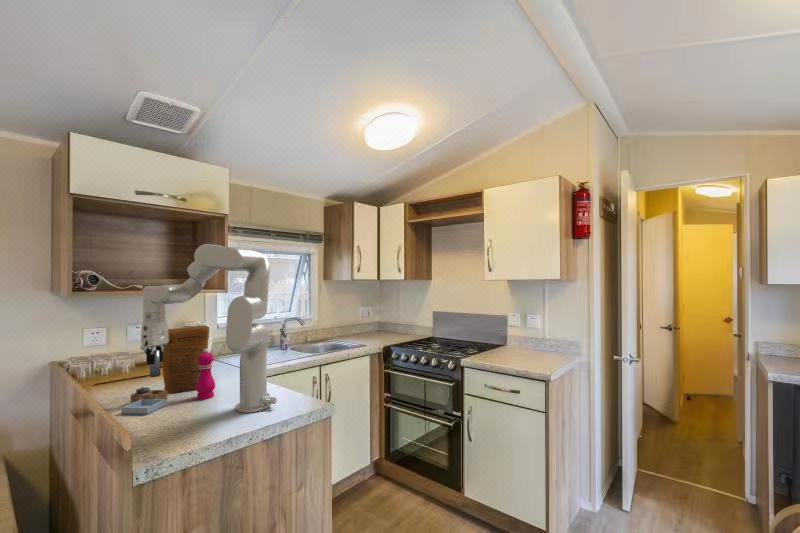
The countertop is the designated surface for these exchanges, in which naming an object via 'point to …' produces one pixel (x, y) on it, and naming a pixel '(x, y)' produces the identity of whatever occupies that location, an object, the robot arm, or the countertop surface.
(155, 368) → the lock pin
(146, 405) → the tray
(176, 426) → the countertop surface
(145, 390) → the tensioner block
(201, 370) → the pepper mill
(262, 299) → the robot arm
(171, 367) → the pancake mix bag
